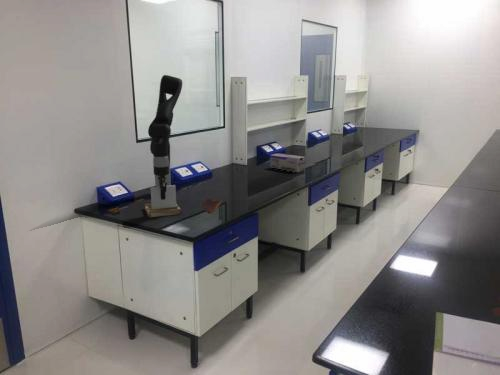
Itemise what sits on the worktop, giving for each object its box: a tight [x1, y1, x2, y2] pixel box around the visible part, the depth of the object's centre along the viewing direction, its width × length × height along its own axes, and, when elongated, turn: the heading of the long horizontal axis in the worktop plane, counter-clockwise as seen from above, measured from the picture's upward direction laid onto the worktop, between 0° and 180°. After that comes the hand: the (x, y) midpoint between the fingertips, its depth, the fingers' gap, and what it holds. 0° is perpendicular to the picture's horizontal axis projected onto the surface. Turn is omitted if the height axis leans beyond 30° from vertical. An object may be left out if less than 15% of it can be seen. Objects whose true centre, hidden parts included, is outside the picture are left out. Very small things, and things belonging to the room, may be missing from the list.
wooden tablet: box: [200, 198, 223, 215], centre depth 231 cm, size 26×2×10 cm
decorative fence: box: [107, 198, 145, 215], centre depth 229 cm, size 25×2×10 cm
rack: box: [144, 203, 182, 218], centre depth 218 cm, size 15×16×4 cm
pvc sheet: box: [150, 184, 177, 209], centre depth 212 cm, size 2×12×11 cm, turn 110°
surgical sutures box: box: [269, 152, 306, 173], centre depth 324 cm, size 25×11×11 cm, turn 50°
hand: (162, 198), depth 212 cm, fingers closed on pvc sheet, 2 cm apart
